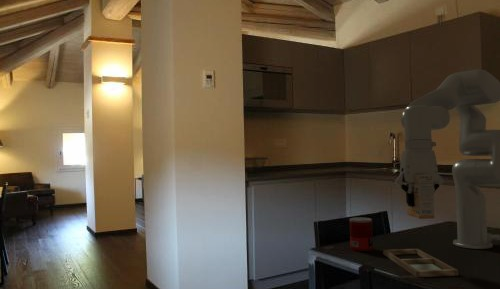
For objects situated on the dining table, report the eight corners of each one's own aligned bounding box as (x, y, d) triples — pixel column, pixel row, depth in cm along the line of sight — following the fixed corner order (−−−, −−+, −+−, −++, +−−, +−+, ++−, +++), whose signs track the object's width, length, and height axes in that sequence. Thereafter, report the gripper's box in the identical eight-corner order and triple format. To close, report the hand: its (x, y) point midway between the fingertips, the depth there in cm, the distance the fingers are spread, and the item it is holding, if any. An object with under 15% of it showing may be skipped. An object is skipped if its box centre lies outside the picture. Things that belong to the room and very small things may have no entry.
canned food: (374, 252, 139) (373, 220, 139) (350, 251, 140) (349, 220, 140) (372, 247, 146) (371, 217, 146) (349, 246, 148) (348, 217, 148)
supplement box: (406, 215, 123) (405, 173, 124) (421, 214, 124) (420, 172, 124) (419, 219, 115) (417, 174, 115) (435, 218, 115) (433, 173, 116)
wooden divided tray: (417, 253, 136) (417, 248, 136) (458, 275, 111) (458, 270, 111) (383, 254, 135) (383, 249, 135) (416, 277, 110) (416, 271, 110)
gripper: (440, 145, 124) (442, 203, 123) (386, 146, 124) (387, 205, 123) (452, 145, 116) (454, 207, 116) (394, 146, 116) (396, 208, 116)
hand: (420, 205), depth 119 cm, fingers closed on supplement box, 5 cm apart
